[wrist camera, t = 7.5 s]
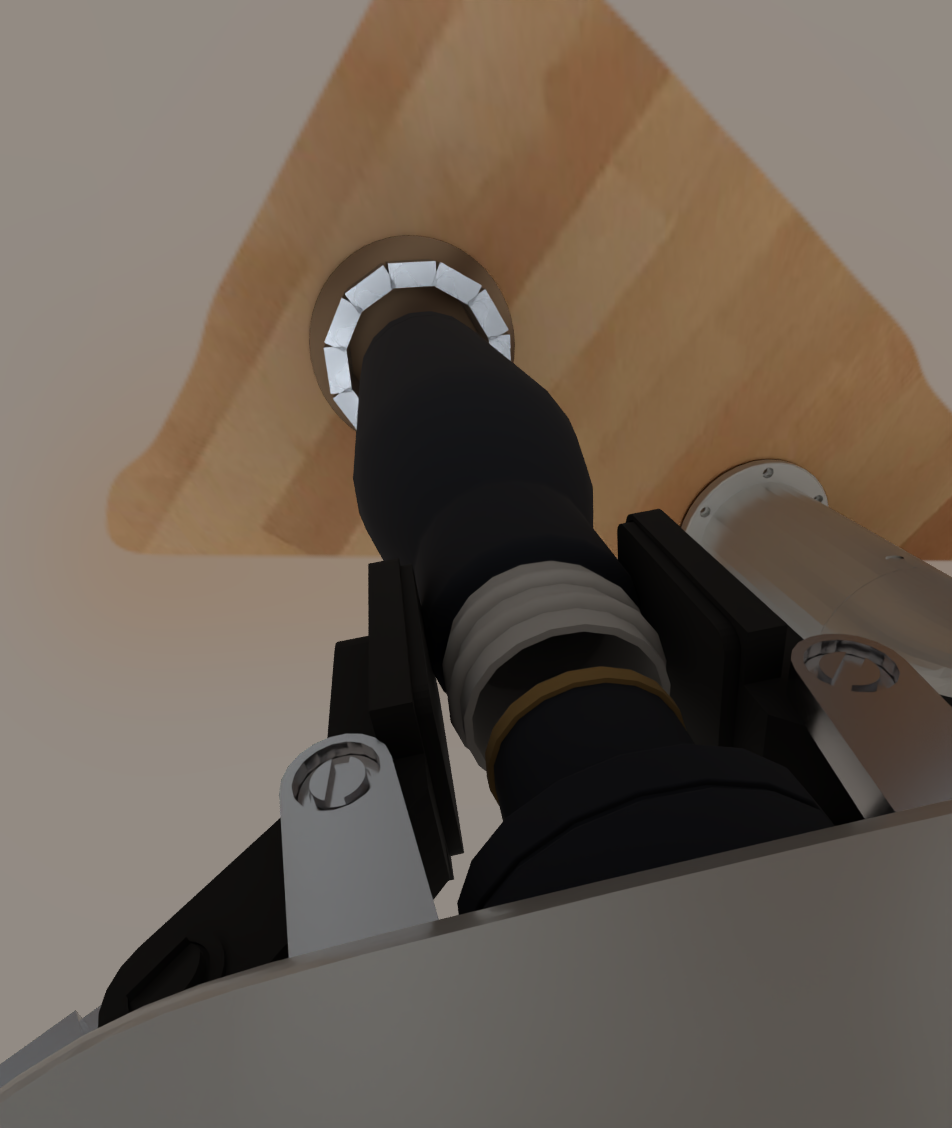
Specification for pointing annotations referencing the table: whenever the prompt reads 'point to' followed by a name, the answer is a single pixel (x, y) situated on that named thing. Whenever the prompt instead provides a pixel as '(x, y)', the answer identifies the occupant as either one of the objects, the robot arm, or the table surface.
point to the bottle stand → (397, 307)
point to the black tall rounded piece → (540, 629)
